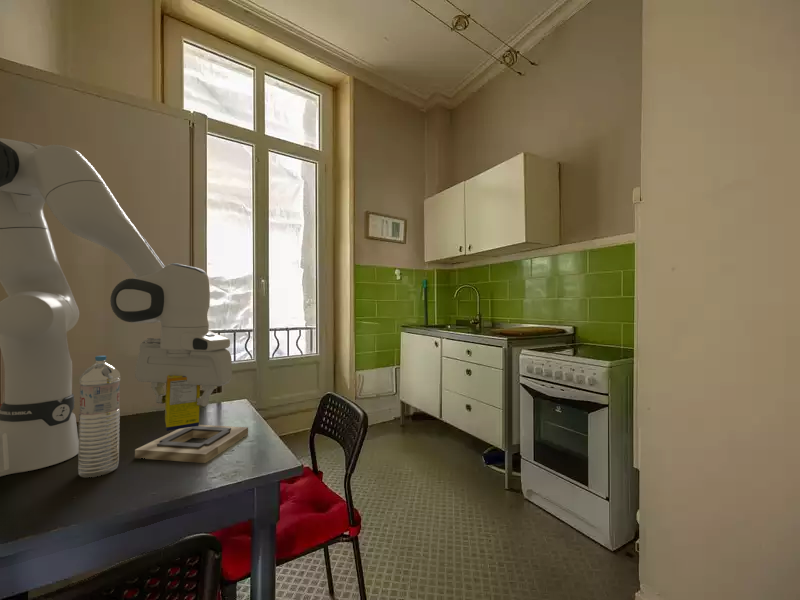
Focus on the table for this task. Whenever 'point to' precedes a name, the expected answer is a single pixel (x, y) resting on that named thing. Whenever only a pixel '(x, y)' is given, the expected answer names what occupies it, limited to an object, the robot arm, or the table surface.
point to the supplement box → (181, 403)
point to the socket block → (180, 450)
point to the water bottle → (99, 420)
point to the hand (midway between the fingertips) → (182, 404)
